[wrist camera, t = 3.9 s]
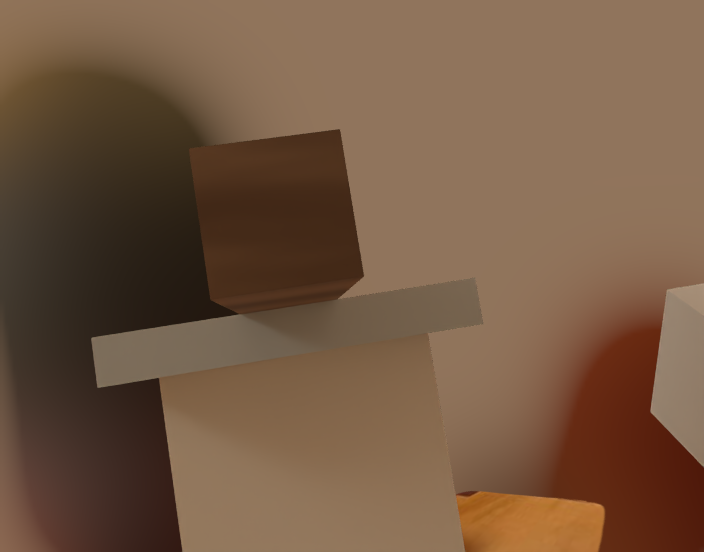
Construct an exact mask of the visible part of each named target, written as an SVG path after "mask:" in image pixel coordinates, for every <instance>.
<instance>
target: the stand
mask: <svg viewBox="0 0 704 552" xmlns="http://www.w3.org/2000/svg"><path fill="white" fill-rule="evenodd" d="M480 324H483V320H482V314H481V309H480V303H479V298H478V292H477V286H476V281H475V278H470V279H464V280H458V281H451V282H445V283H438V284H433V285H426V286H419V287H413V288H407V289H400V290H394V291H388V292H381V293H375V294H369V295H363V296H356V297H350V298H343V299H336V300H330V301H324V302H317V303H311V304H304V305H298V306H292V307H285V308H279V309H273V310H266V311H260V312H253V313H247V314H241V315H235V316H228V317H221V318H215V319H209V320H202V321H196V322H190V323H184V324H177V325H170V326H164V327H158V328H151V329H145V330H139V331H132V332H126V333H120V334H113V335H107V336H100V337H94V338H91V339H92V348H93V355H94V363H95V371H96V379H97V387H98V388H99V387H104V386H111V385H117V384H122V383H128V382H135V381H141V380H146V379H153V378H159V380H160V388H161V395H162V403H163V410H164V418H165V425H166V432H167V440H168V446H169V455H170V462H171V469H172V476H173V484H174V492H175V499H176V506H177V513H178V521H179V528H180V535H181V543H182V551H183V552H465V548H464V542H463V536H462V530H461V524H460V518H459V512H458V507H457V501H456V495H455V490H454V483H453V477H452V472H451V466H450V460H449V454H448V448H447V442H446V436H445V430H444V425H443V419H442V413H441V407H440V402H439V396H438V389H437V384H436V378H435V372H434V366H433V360H432V354H431V349H430V343H429V337H428V333H432V332H438V331H444V330H450V329H456V328H462V327H468V326H474V325H480Z"/></svg>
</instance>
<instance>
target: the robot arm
mask: <svg viewBox="0 0 704 552" xmlns="http://www.w3.org/2000/svg"><path fill="white" fill-rule="evenodd" d="M651 413H652V414H653V415H654V416H655V417H656V418H657V419H658V420H659V421H660V422H661V423H662V424H663V425H664V426H665V427H666V428H667V429H668V430H669V431H670V432H671V433H672V435H674V437H675V438H676V439H677V440H678V441H679V442H680V443H681V444H682V445H683V446H684V447H685V448H686V449H687V450H688V451H689V452H690V453H691V454H692V455H693V456H694V457H695V458H696V460H697V461H698V462H699V463H700V464H701V465H702V466H703V467H704V284H698V285H692V286H687V287H680V288H674V289H668V290H667V293H666V301H665V308H664V316H663V323H662V330H661V339H660V345H659V353H658V360H657V367H656V376H655V383H654V390H653V397H652V405H651Z"/></svg>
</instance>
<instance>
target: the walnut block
mask: <svg viewBox="0 0 704 552" xmlns="http://www.w3.org/2000/svg"><path fill="white" fill-rule="evenodd" d="M189 153H190V159H191V166H192V174H193V180H194V187H195V194H196V201H197V208H198V215H199V222H200V229H201V236H202V243H203V249H204V257H205V264H206V270H207V278H208V285H209V292H210V298H211V300H212V301H214V302H216V303H218V304H220V305H222V306H225V307H227V308H229V309H231V310H233V311H235V312H237V313H239V314H247V313H253V312H260V311H266V310H273V309H279V308H285V307H292V306H298V305H304V304H311V303H317V302H324V301H330V300H336V299H338V298H339V297H340V296H341V295H343V294H344V293H345V292H346V291H347V290H349V289H350V288H351V287H352V286H353V285H354V284H356V282H358V281H359V280H360V279H361V278H362V277H364V274H363V267H362V261H361V255H360V250H359V243H358V238H357V231H356V225H355V219H354V212H353V206H352V201H351V194H350V188H349V182H348V176H347V170H346V164H345V158H344V152H343V145H342V140H341V133H340V130H339V129H338V130H331V131H323V132H315V133H308V134H300V135H292V136H285V137H276V138H269V139H260V140H252V141H244V142H237V143H229V144H222V145H214V146H205V147H198V148H189Z"/></svg>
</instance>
